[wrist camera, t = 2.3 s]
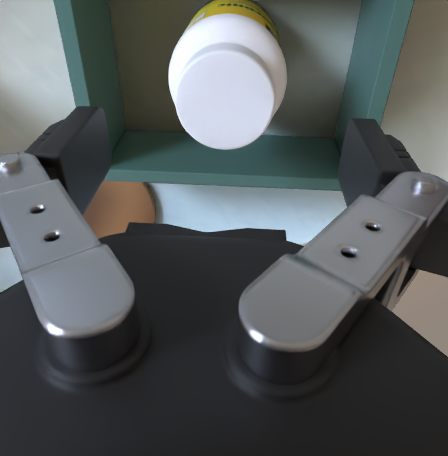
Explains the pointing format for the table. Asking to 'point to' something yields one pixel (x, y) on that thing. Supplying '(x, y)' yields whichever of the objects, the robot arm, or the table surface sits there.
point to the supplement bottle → (228, 74)
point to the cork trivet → (119, 207)
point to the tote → (252, 153)
